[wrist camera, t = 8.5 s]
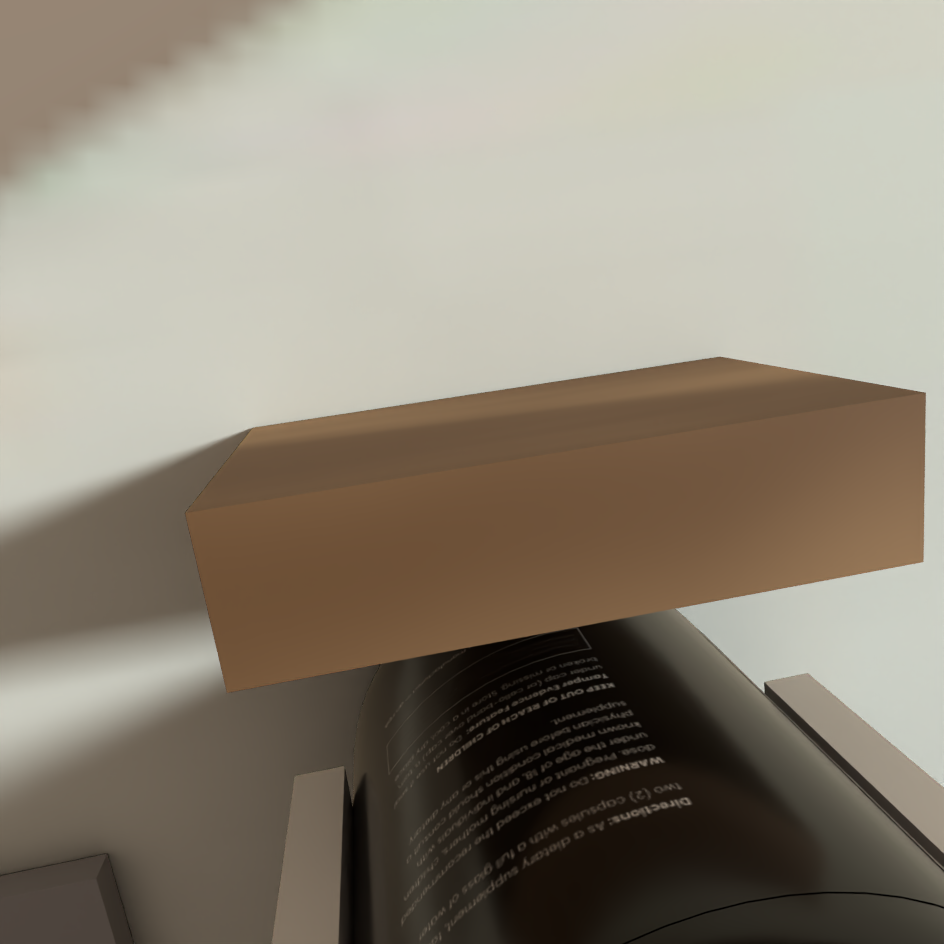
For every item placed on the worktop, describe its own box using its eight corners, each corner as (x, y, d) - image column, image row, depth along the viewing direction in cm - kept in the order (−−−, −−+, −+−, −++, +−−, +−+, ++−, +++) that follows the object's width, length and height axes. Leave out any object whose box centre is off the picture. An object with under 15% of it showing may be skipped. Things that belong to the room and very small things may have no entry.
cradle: (750, 938, 16) (914, 1210, 11) (375, 1028, 15) (383, 1362, 11) (720, 356, 13) (925, 392, 8) (252, 427, 12) (184, 512, 8)
